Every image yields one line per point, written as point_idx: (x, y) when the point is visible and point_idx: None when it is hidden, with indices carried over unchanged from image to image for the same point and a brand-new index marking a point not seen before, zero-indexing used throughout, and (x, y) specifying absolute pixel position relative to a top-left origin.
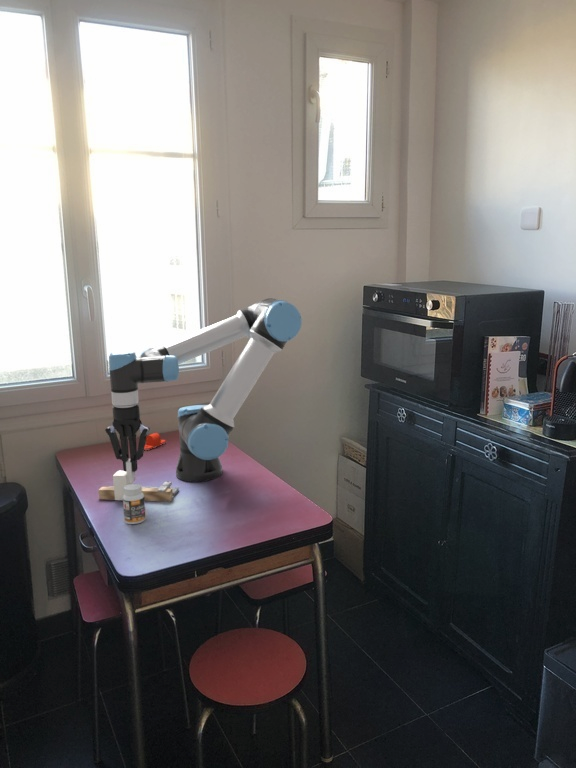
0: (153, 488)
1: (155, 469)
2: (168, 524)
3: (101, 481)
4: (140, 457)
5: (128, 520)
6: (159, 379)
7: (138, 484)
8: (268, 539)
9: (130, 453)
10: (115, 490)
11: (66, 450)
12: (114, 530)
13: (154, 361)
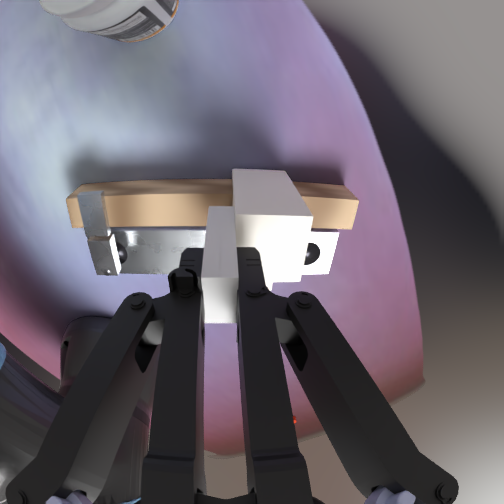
0: (135, 223)
1: (235, 371)
2: (35, 25)
3: (357, 306)
4: (123, 307)
5: None
6: None
7: (55, 7)
8: None
9: (194, 332)
10: (287, 183)
11: (413, 387)
12: None
13: None
